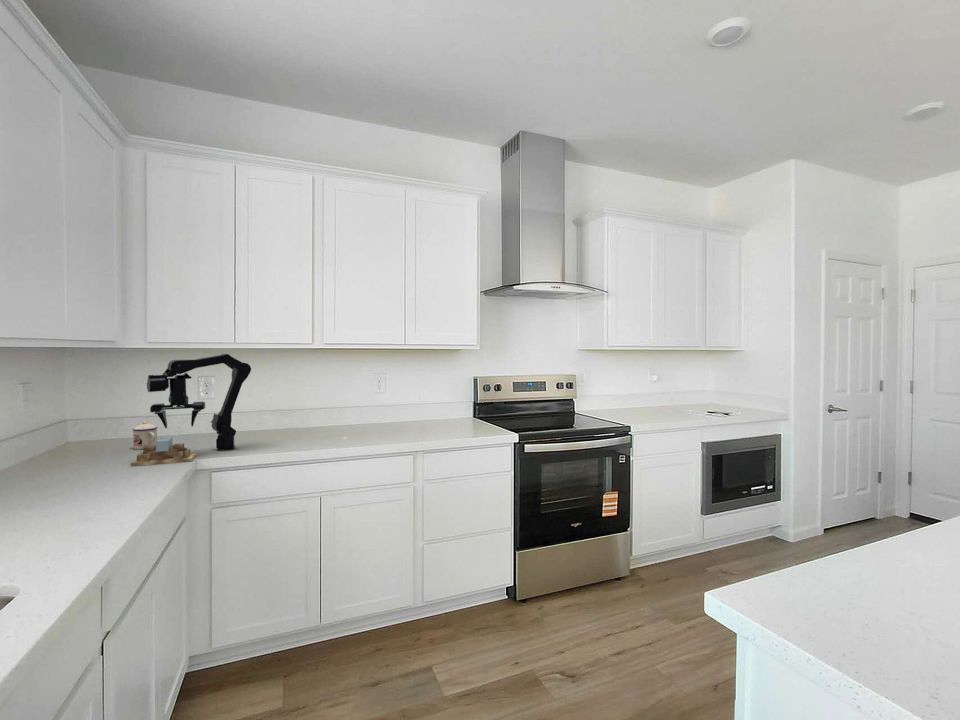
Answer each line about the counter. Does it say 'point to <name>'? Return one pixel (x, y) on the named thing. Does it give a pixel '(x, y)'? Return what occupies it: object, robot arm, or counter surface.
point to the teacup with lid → (144, 435)
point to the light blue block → (164, 444)
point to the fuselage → (163, 452)
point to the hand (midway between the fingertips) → (179, 427)
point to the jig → (178, 457)
